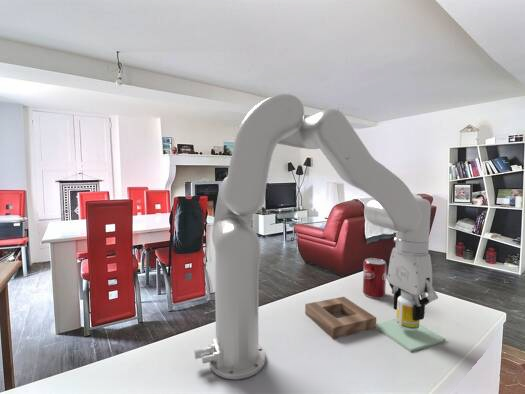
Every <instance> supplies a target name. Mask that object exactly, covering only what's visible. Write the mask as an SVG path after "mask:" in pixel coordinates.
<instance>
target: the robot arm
mask: <svg viewBox="0 0 525 394" xmlns="http://www.w3.org/2000/svg"><path fill="white" fill-rule="evenodd" d="M304 108H305V107H304V105H303V103H302V101H301V100H300V99H299V98H298V97H297V96H295V95H293V94H289V93H283V94H281V93H280V94H275V95H273V96H271V97H268V98H266V99H264V100H262V101H260V102H259V103H257V104H256V105H255V106H254V107H253V108H252V109H250V111H249V112H248V113H247V114H246V116H245V117H244V119H243V120H242V121H241V123H240V125H239V126H238V130H237V131H236V135H235V138H234V142H233V145H232V152H231V156H230V162H229V167H228V171H227V176H226V177H224V179H223V181H221V184H220V185H219V190H218V194H217V198H216V199H217V200H216V204H215V211H214V217H213V225H212V231H211V232H212V233H211V237H212V243H213V248H214V295H215V297H214V299H215V300H214V301H215V303H214V304H215V307H214V308H215V338H212V343H211V344H208V346H205V347H200V348H195V349H194V351H193V353H194V360H197V359H201V362H202V363H201V364H202V365H204V364H207V363H208V364H209V367H210V369H211V371H212V372H213V373H214V374H215V375H217V376H219V377H220V378H224V379H228V380H242V379H247V378H251V377H252V376H254V375H256V374H258V373H259V372H260V371H261V370H262V369H263V367H264V365H265V362H266V352H265V349H264V348H263V347H262V346H261V345H260V344H259V277H260V276H259V274H260V273H259V272H260V265H261V264H260V263H261V256H262V255H261V253H262V252H261V251H262V249H261V242H260V238H259V235H258V233H257V232H256V230H255V229H254V228H253V226H252V221H253V215H255V214H257V213H258V212H259V211H260V210H261V209H262V207H263V204H264V202H265V198H266V190H267V185H268V184H267V183H268V177H269V170H270V165H271V161H272V157H273V153H274V150H275V148H276V146H277V145H283V146H287V147H291V148H292V147H293V148H299V149H306V150H319V149H320V151H321V152H322V154H323V155H324V156H325V157H326V159H327V160H328V162H329V163H330V165H331V166H332V168H333V169H334V170H335V172H336V173H337V175H338V176H339V177H340V179H342V180H343V181H344V182H346V183H347V184H349V185H351V186H352V187H354V188H356V189H359V190H360V191H363V192H364V193H366V194H368V195H369V196H370V197H371V198H372V199H370V200H369V201H368V202H366V204H365V206H364V208H363V214H364V217H365V219H366V220H367V221H368V222H369V223H371V224H372V225H374V226H376V227H379V228H384V229H387V230H391V231H394V232H395V237H394V238H393V242H394V243H395V247H393V248H392V250H391V253H390V257H389V263H388V264H389V265H388V271H387V273H386V282H388V283H389V284H388V285H389V287H390V288H391V293H392V294H393V306H392V307H393V310H395V311H397V300H398V297H399V296H401V289H402V290H404V291H406V292H408V293H411V294H413V295H414V298H415V303H416V305H413V320H415V321H418V320H420V321H421V320H424V318H425V313H426V311H425V309H426V306H427V305H428V304H429V303H431V302H433V301H437V300H438V299H439V296H438V294H437V292H436V290H435V289H434V287H433V265H432V259H431V255H430V253H429V248H430V247H429V246H430V245H429V244H430V229H431V227H430V225H431V213H432V211H431V210H432V205H431V202H430V200H428V199H426V198H421V197H420V198H419V197H415V196H414V194H413V192H412V191H411V189H410V188H409V187H408V186H407V185H406V183H405V182H404V181H403V179H401V178H400V177H398V175H396V174H395V173H394V172H392V171H391V170H390V169H389V168H387V167H386V166H385V165H383V163H380V162H379V161H378V160H376V159H375V158H374V157H373V155H371V153H370V151H369V150H368V148H367V147H366V146H365V144H364V143H363V141H362V140H361V138H360V136H359V135H358V134H357V132H356V130H355V129H354V128H353V126H352V125H351V123H350V122H349V120H348V118H347V117H346V116H345V114H344V113H343V112H342V111H340V110H338V109H336V108H327V109H323V110H321V111H319V112H316V113H314V114H312V115H310V114H305V109H304Z"/></svg>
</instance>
